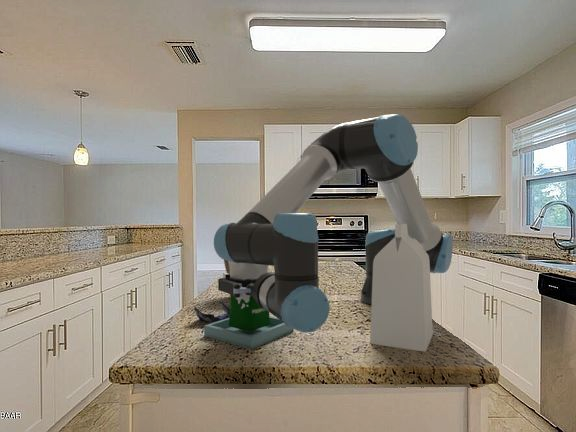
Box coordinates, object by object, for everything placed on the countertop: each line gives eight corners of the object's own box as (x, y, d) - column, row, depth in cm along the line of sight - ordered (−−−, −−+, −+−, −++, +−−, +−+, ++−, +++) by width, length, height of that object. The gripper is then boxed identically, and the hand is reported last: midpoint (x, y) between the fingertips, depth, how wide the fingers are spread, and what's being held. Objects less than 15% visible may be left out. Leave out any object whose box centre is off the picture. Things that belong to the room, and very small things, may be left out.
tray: (293, 331, 92) (293, 320, 92) (251, 349, 80) (251, 337, 80) (248, 321, 101) (248, 311, 101) (204, 336, 89) (204, 325, 89)
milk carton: (249, 333, 84) (248, 243, 84) (222, 326, 90) (221, 242, 90) (275, 324, 91) (274, 241, 91) (249, 318, 97) (247, 240, 97)
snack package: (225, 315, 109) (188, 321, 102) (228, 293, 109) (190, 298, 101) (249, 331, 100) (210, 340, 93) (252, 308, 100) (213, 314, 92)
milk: (383, 328, 93) (382, 223, 93) (432, 334, 88) (431, 223, 88) (370, 343, 83) (368, 224, 83) (425, 351, 77) (424, 224, 77)
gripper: (221, 319, 70) (200, 295, 90) (325, 306, 78) (283, 287, 99) (221, 278, 70) (199, 264, 90) (325, 270, 78) (283, 259, 99)
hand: (243, 276), depth 95 cm, fingers closed on milk carton, 9 cm apart
